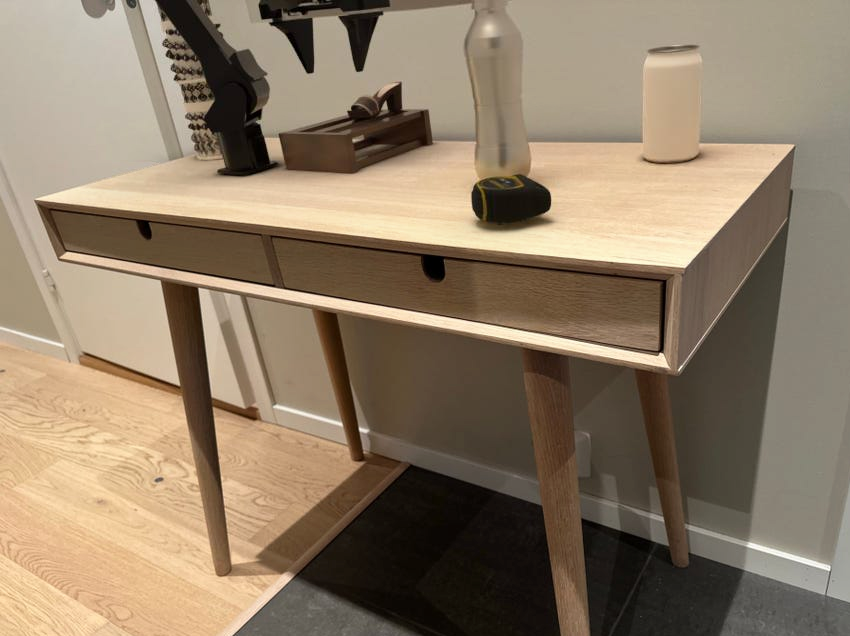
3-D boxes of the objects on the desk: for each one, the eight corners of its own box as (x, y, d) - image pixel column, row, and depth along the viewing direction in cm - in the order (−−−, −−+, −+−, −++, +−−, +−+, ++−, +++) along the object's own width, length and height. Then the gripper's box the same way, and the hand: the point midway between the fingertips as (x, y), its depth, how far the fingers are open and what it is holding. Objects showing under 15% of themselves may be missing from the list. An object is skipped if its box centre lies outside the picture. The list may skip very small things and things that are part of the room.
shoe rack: (286, 169, 101) (278, 133, 99) (369, 141, 114) (364, 109, 111) (352, 173, 94) (345, 134, 92) (433, 143, 107) (428, 109, 105)
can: (710, 154, 83) (716, 44, 77) (672, 166, 80) (675, 52, 74) (668, 148, 88) (671, 44, 82) (631, 159, 85) (631, 51, 79)
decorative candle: (262, 149, 118) (221, -20, 106) (212, 162, 112) (163, -15, 100) (234, 146, 123) (192, -15, 112) (185, 158, 118) (135, -10, 106)
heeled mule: (338, 121, 102) (333, 93, 101) (392, 108, 110) (388, 81, 108) (358, 122, 100) (353, 93, 98) (412, 108, 107) (408, 81, 105)
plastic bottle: (468, 192, 79) (446, -8, 70) (488, 176, 85) (470, -11, 75) (522, 191, 77) (507, -15, 68) (540, 175, 82) (528, -17, 73)
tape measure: (555, 222, 66) (553, 182, 64) (486, 235, 65) (482, 195, 63) (529, 205, 72) (526, 168, 70) (465, 217, 70) (461, 180, 69)
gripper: (212, -49, 89) (243, 83, 96) (320, -68, 79) (345, 80, 86) (278, -51, 97) (302, 71, 104) (383, -68, 87) (401, 67, 94)
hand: (334, 72), depth 97 cm, fingers open, 9 cm apart
